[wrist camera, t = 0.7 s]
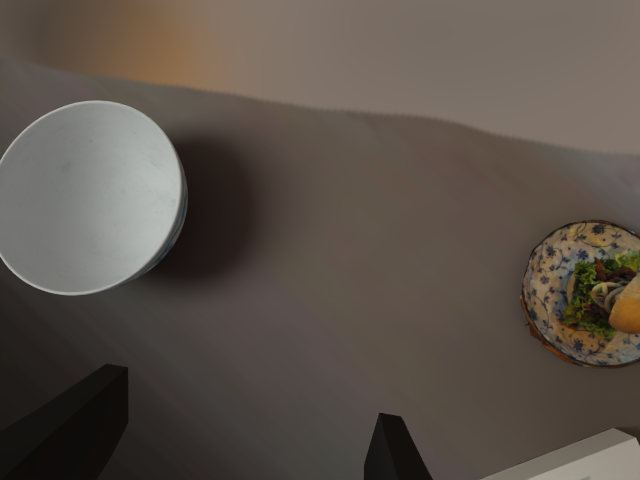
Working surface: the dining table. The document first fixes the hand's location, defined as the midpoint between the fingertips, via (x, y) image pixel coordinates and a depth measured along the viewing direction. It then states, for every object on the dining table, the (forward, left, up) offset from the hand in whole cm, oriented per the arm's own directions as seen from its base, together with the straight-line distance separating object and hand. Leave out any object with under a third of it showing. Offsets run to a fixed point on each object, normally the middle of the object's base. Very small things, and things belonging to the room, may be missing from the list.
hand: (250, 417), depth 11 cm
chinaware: (+17, +11, -23) cm, 31 cm away
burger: (-4, -23, -24) cm, 33 cm away
